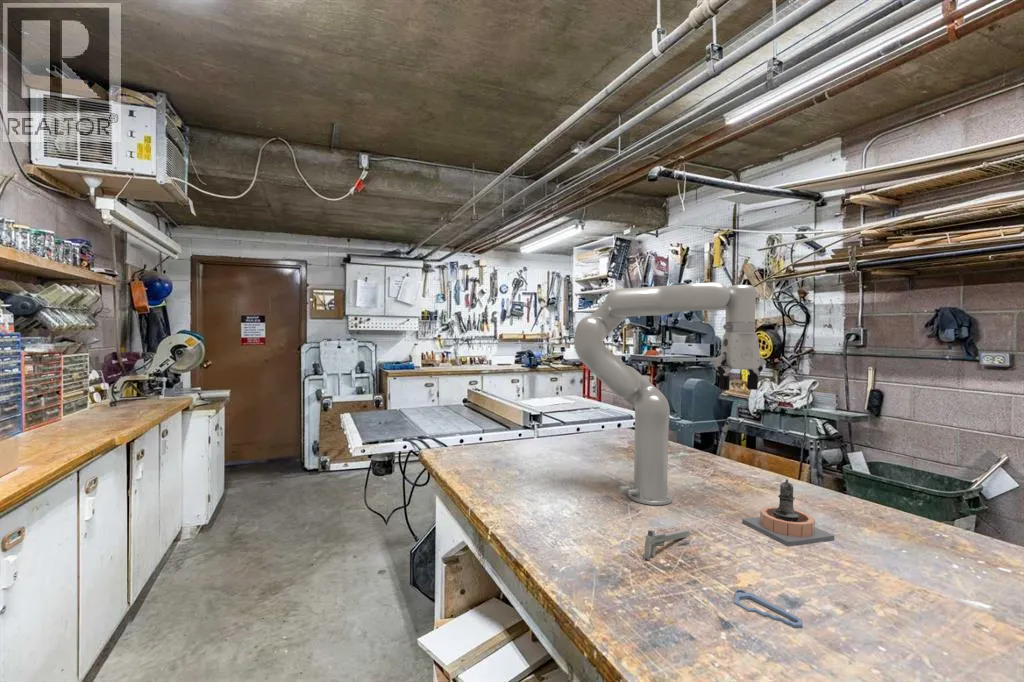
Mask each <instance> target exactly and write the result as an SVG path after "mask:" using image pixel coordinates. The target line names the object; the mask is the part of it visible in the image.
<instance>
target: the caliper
mask: <svg viewBox="0 0 1024 682" xmlns="http://www.w3.org/2000/svg"><path fill="white" fill-rule="evenodd" d="M689 535H692V532H690V530H689V529H688V530H687V529H681V530H676V531H672V532H665V533H664V532H657V533H656V530H654V529H648V530H647V535H646V536H645V542H644V552H643V553H644V555H643V557H644V559H645V560H647V561H650V560H651V559H655V554H656V551H657V547H665V543H668V542H671V541H676V540H680V539H686V538H687V537H689Z"/></svg>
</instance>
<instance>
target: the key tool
mask: <svg viewBox="0 0 1024 682" xmlns="http://www.w3.org/2000/svg"><path fill="white" fill-rule="evenodd" d="M748 599H749V600H752V601H754V602H756V603H758V604H760V605H761V606H763V607H766V608H767V609H769V610H771V611H773V612H775V613H777V614H779V615H781V616H783V617H784V618H783V617H781V616H778V615H775V614H774V615H773V614H772V613H770V612H768V611H762V610H760V609H757V608H756V607H752V608H751V607H750V608H749V607H748V606H746V605H744V604H742V603H740V600H748ZM733 603H734V604H735V605H737V606H738V607H740V608H741V609H743V610H745V611H747V612H750V613H756V614H758V615H759V616H762V617H765V618H766V617H767V618H770V619H771V620H773V621H778V622H781V623H784V624H785V625H787V626H791V627H792V628H794V629H795V628H796V629H803V619H801V618H800V617H798V616H797V615H795V614H793V613H791V612H790V611H787V610H786V609H784V608H782V607H780V606H778V605H777V604H773V603H772V602H769V601H768V600H766V599H764V598H762V597H761V596H758V595H757V594H754V593H753V592H747V591H746V590H745V589H740V588H737V589H735V590H734V601H733ZM786 618H787V619H786ZM788 619H789V620H788Z"/></svg>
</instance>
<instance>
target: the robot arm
mask: <svg viewBox="0 0 1024 682" xmlns="http://www.w3.org/2000/svg"><path fill="white" fill-rule="evenodd" d="M756 293H757V289H756V288H755V286H753V285H750V284H734V285H730V286H726V285H724V284H723V283H720V282H714V281H713V282H701V283H698V282H697V283H686V284H674V285H670V284H669V285H658V286H657V285H656V286H655V285H654V286H644V287H643V286H642V287H640V286H639V287H626V288H624V287H623V288H615V289H613V290H611V291H609V292H608V294H607V295H606V297H605V299H604V302H603V303H602V304H601V305H600V306H598V308H597V309H595V311H593V313H592V314H591V315H588V316H584V317H583V318H582V319H581V320H580V321H579V322H578V323H577V325H576V328H575V330H574V336H573V344H574V350H575V353H576V354H577V356H578V358H579V360H580V361H581V362H582V364H584V366H585V367H586V368H587V369H588V370H589V371H590V372H591V373H593V375H594V376H596V377H597V378H598V380H600V381H601V383H603V384H604V385H605V386H606V387H607V388H608V389H609V390H610V391H611V393H613V394H614V395H615V396H617V397H619V398H622V399H623V400H624V401H625V402H627V403H628V405H630V406H631V407H632V408H633V409H634V459H633V460H634V461H633V463H634V464H633V465H634V466H633V480H630V483H629V484H628V485H619V486H618V492H619V493H620V494H623V493H627V496H628V497H629V499H630V500H632V501H634V502H637V503H640V504H643V505H651V506H663V505H664V506H666V505H669V504H671V503H672V502H673V499H674V498H673V497H674V496H673V495H672V494H671V493H670V492H668V468H669V467H668V466H669V429H670V427H669V426H670V416H671V414H670V413H671V410H670V404H669V401H668V399H667V398H666V396H665V394H663V393H662V392H661V391H660V389H658V388H657V387H656V386H655V385H654V384H652V383H651V381H650V380H648V379H647V378H646V377H645V376H643V375H642V374H641V373H640V372H639V371H638V370H637V369H635V368H634V367H633V366H630V365H626V363H624V361H622V360H621V359H620V358H618V357H617V356H616V355H615V354H614V352H612V351H611V350H610V349H609V348H607V347H606V345H605V343H604V340H605V339H606V338H607V337H608V336H609V335H610V334H611V333H612V332H613V331H614V330H615V329H616V328H617V327H618V326H619V325H620V324H621V323H622V322H624V320H625V319H626V318H627V317H629V318H630V317H646V316H648V317H651V316H664V315H665V316H666V315H670V314H674V313H680V312H692V311H705V312H718V311H719V312H720V311H725V324H723V325H722V326H723V330H725V331H724V333H723V336H722V342H721V347H720V355H718V356H717V357H714V358H713V359H712V365H713V367H714V370H715V371H716V372H717V373H716V374H717V376H719V384H718V385H719V387H718V388H719V390H721V391H722V390H723V391H729V390H730V383H731V382H730V380H731V379H730V378H731V377H730V375H729V373H730V372H732V369H733V370H746V371H747V373H748V374H747V376H746V377H747V378H746V379H747V385H746V387H747V389H748V390H754V391H757V390H758V387H759V384H758V382H759V379H758V378H759V376H760V375H761V372H762V371H763V369H764V366H765V364H766V360H765V359H764V358H762V357H761V355H760V353H761V352H760V343H759V337H758V334H757V333H756V302H757V301H756V299H757V298H756V296H757V295H756Z"/></svg>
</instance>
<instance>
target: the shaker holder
mask: <svg viewBox="0 0 1024 682" xmlns="http://www.w3.org/2000/svg"><path fill="white" fill-rule="evenodd" d="M778 507H779V506H773V505H772V506H763V507H762V508H761V509H760V510H759V516H756V517H748V518H747V517H746V518H742V519H741V521H742V522H741V523H742V524H744V525H746V526H748V527H749V526H750V528H751V527H752V529H753V528H754V530H755V531H758V532H760V533H761V534H763V535H765V536H767V537H769V538H771V539H773V540H775V541H777V542H779V543H781V544H783V545H785V546H787V547H794V545H795V546H801V544H802V545H807V544H808V543H809V544H814V543H815V542H816V543H821V541H823V542H829V540H830V541H835V535H834V534H831V533H830V532H828V531H825V530H823V529H820V528H818V527H816V523H815V522H816V520H815V518H814V517H813V516H811V514H808V513H806V512H803V511H801V510H797V509H794V511H796V512H797V513H799V514H800V516H799V517H798V520H797V522H789V521H784V520H780V519H776V518H775V516H774V512H773V509H775V508H778ZM816 543H815V544H816ZM809 544H808V545H809Z"/></svg>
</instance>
